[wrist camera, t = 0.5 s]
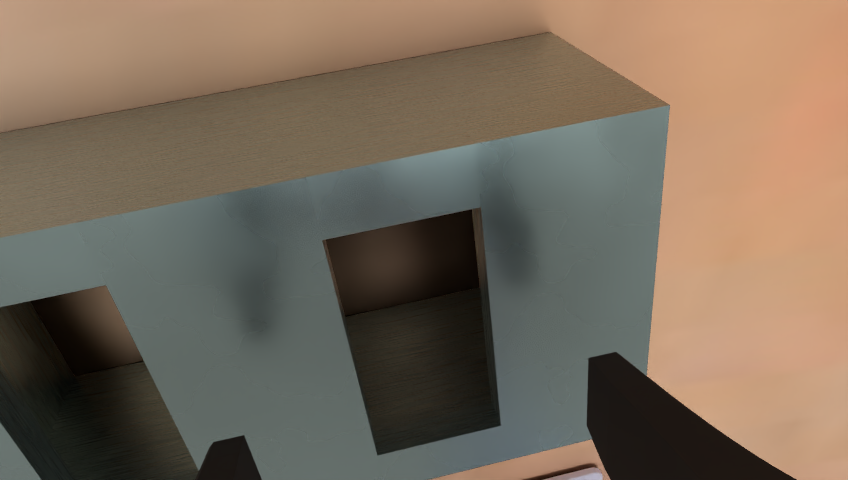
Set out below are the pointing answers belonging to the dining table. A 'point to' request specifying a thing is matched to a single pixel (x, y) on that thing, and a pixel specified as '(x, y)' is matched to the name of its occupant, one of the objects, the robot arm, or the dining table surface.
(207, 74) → the dining table surface
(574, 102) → the toaster
